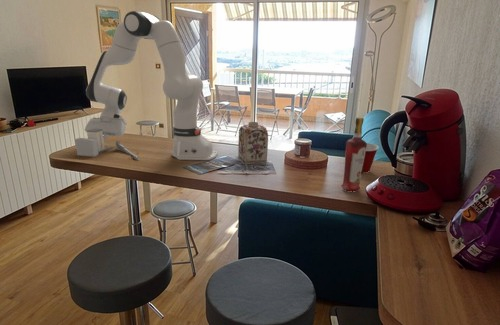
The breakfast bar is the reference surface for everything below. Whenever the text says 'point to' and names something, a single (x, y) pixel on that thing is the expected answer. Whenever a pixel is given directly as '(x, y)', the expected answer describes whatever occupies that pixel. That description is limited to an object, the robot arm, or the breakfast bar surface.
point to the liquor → (354, 158)
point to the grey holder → (88, 147)
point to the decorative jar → (253, 142)
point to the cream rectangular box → (97, 137)
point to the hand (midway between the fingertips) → (100, 141)
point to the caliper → (125, 150)
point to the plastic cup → (369, 156)
